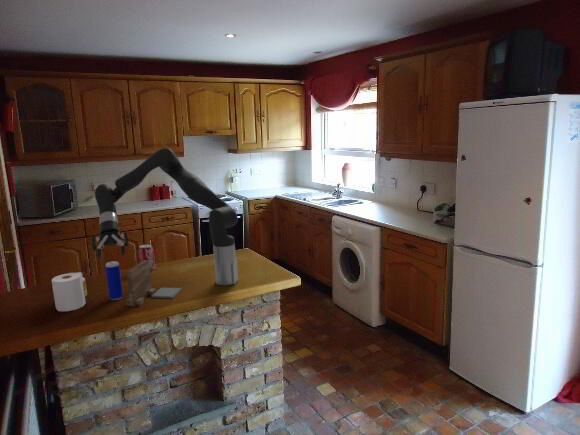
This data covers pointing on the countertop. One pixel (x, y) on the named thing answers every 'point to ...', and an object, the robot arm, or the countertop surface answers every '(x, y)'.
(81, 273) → the supplement bottle
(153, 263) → the soda can
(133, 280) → the board
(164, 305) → the countertop surface
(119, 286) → the beverage can
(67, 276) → the toilet paper
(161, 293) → the coaster
